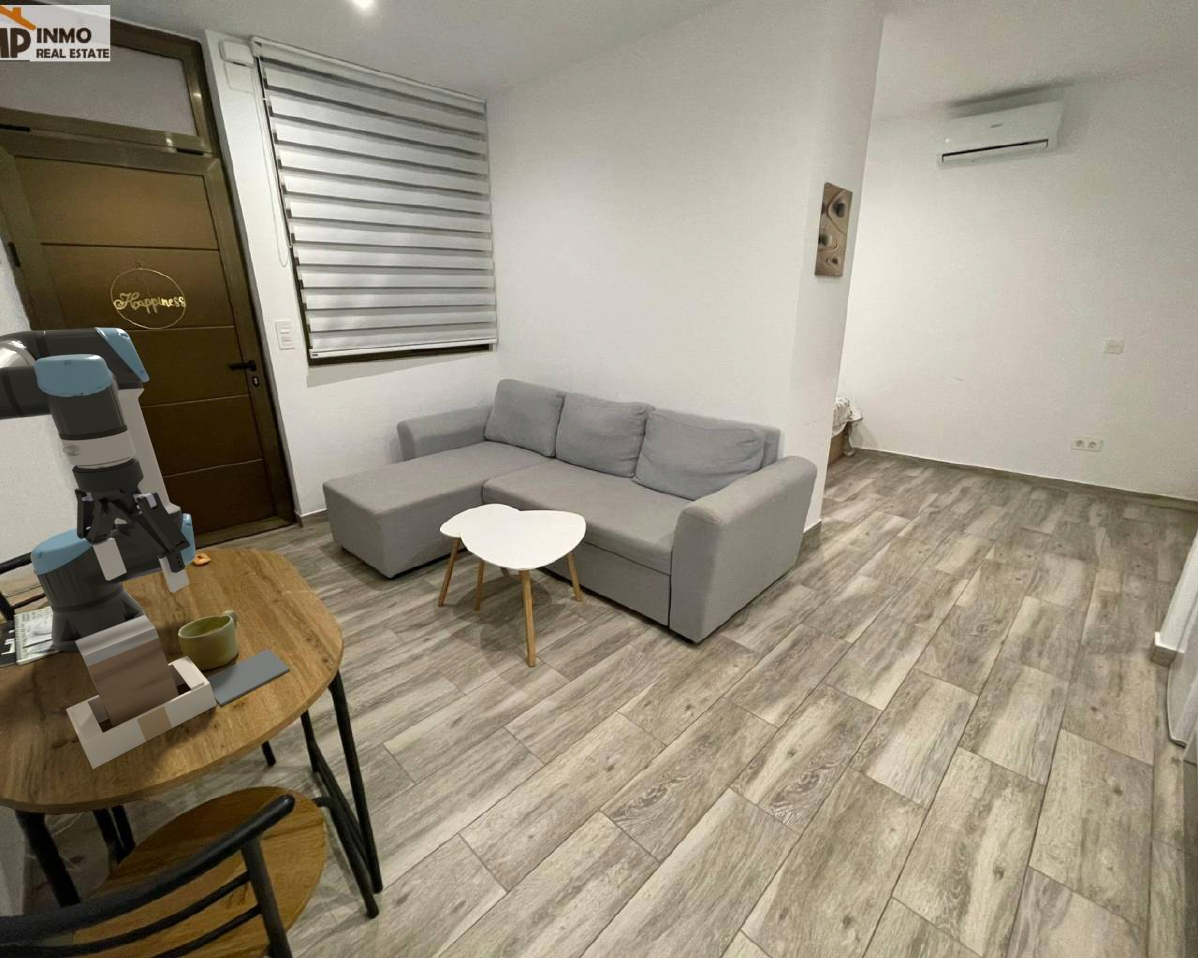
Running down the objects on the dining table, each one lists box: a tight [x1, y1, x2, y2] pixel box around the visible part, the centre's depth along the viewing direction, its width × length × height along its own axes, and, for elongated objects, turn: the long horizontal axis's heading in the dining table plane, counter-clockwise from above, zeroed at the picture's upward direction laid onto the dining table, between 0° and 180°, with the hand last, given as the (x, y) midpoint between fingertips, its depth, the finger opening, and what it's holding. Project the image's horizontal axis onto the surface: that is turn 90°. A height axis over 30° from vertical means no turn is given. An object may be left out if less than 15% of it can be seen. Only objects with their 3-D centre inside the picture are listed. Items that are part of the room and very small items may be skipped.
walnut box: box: [75, 614, 180, 728], centre depth 90 cm, size 6×9×18 cm
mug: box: [177, 609, 239, 672], centre depth 108 cm, size 12×10×10 cm
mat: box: [205, 648, 291, 706], centre depth 103 cm, size 10×12×1 cm
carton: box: [65, 656, 218, 770], centre depth 92 cm, size 12×17×5 cm
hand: (147, 582), depth 86 cm, fingers open, 13 cm apart
